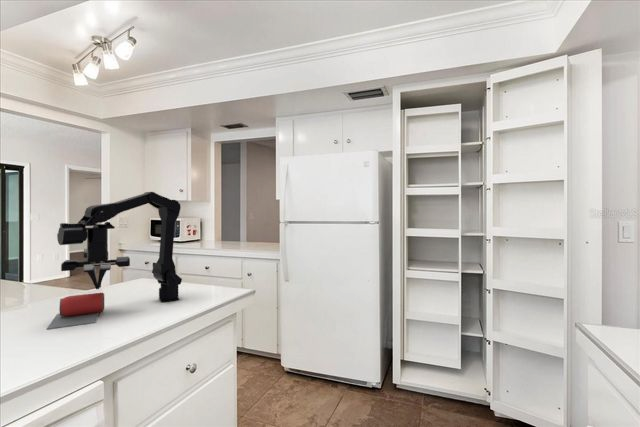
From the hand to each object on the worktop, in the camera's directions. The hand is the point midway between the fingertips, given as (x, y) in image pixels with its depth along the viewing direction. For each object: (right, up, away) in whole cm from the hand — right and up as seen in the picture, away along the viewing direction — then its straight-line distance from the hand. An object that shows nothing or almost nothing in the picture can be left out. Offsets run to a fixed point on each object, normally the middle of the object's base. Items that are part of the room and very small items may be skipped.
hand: (97, 289), depth 110 cm
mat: (-5, -9, -3) cm, 11 cm away
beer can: (0, -5, +4) cm, 7 cm away
